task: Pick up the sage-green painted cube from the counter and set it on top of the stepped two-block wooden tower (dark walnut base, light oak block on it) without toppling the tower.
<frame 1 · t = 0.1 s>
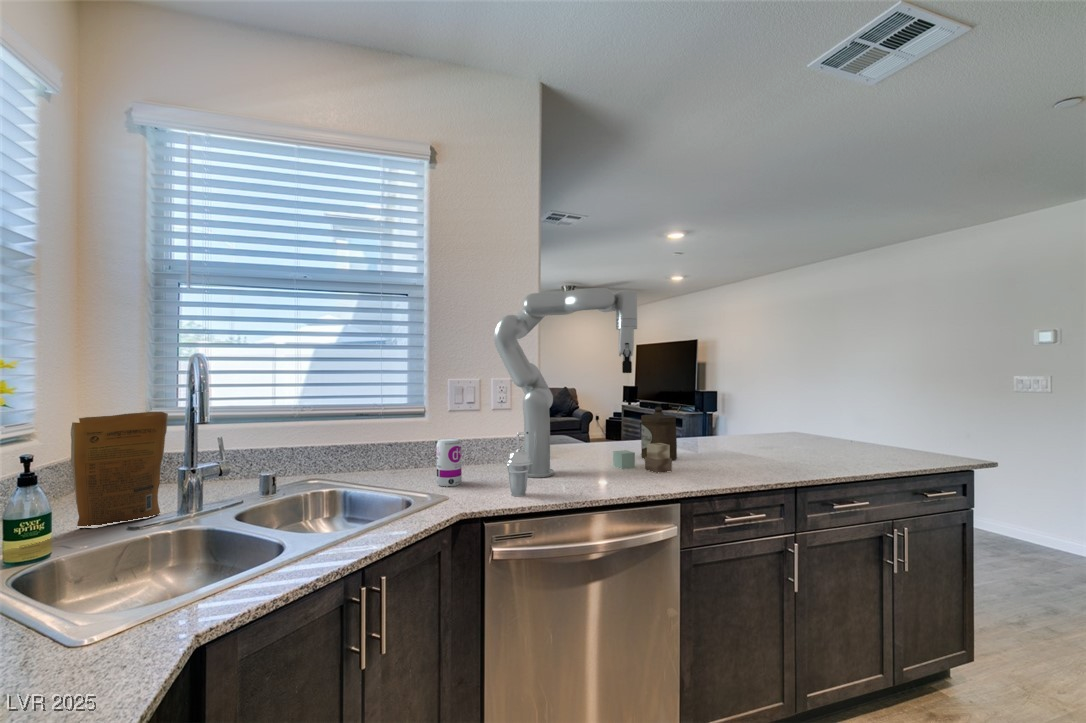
hand: (626, 372, 174), 37 cm above the counter, tool pointing down, fingers open, 9 cm apart
sage cube: (624, 467, 192), on the counter
walnut base block: (658, 470, 185), on the counter, touching oak upper block
supplement can: (449, 484, 165), on the counter
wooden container: (658, 458, 210), on the counter
pancake mix bag: (121, 523, 125), on the counter
cup with straw: (518, 495, 150), on the counter
oak upper block: (658, 457, 185), point 5 cm above the counter, touching walnut base block
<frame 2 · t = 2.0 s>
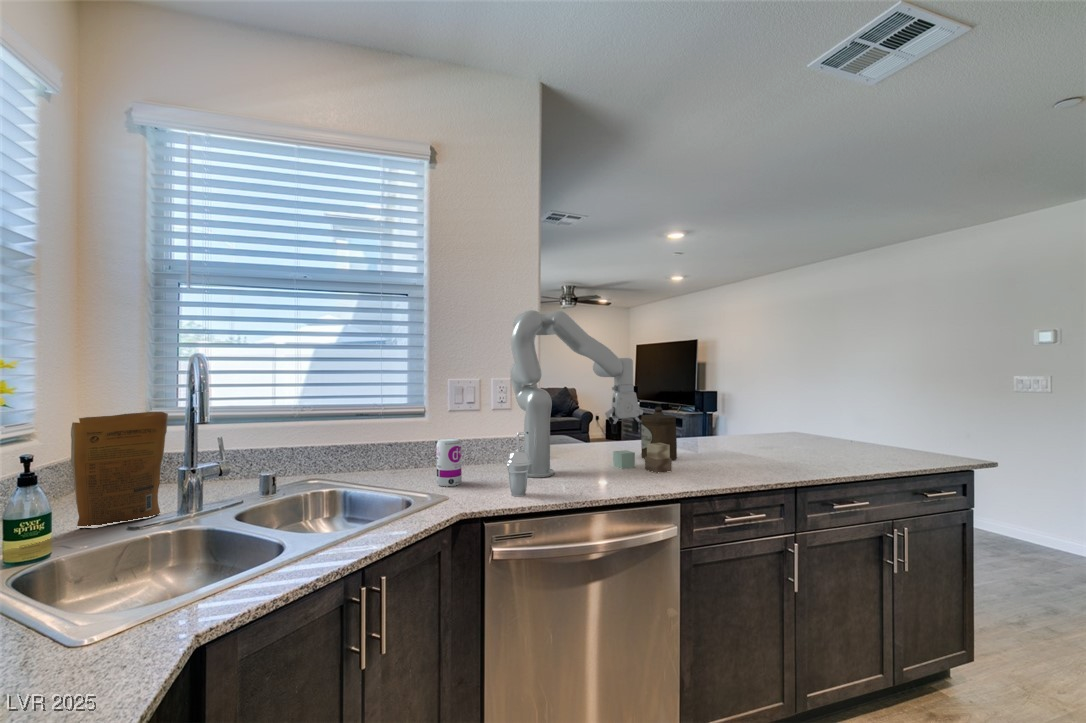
hand: (625, 432, 192), 13 cm above the counter, tool pointing down, fingers open, 9 cm apart
walnut base block: (658, 470, 185), on the counter
oak upper block: (658, 457, 185), point 5 cm above the counter
everything else where it was.
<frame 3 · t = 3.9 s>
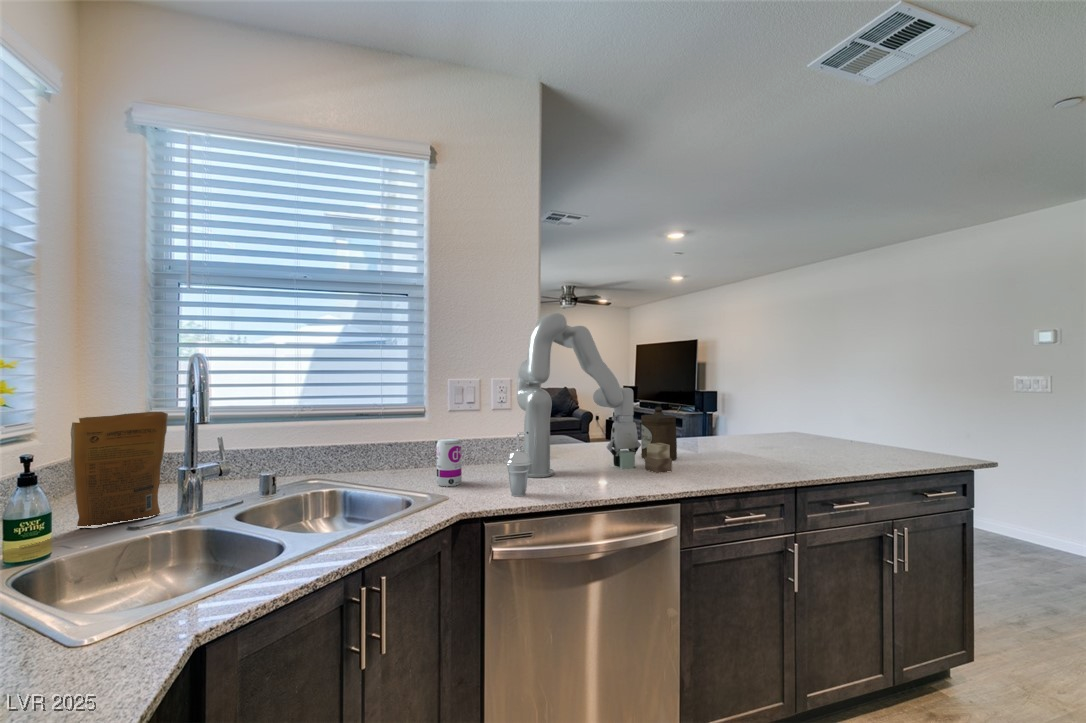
hand: (624, 464, 192), 1 cm above the counter, tool pointing down, fingers closed on sage cube, 6 cm apart
sage cube: (624, 467, 192), on the counter, touching gripper
walnut base block: (658, 470, 185), on the counter, touching oak upper block
oak upper block: (658, 457, 185), point 5 cm above the counter, touching walnut base block
everything else where it was.
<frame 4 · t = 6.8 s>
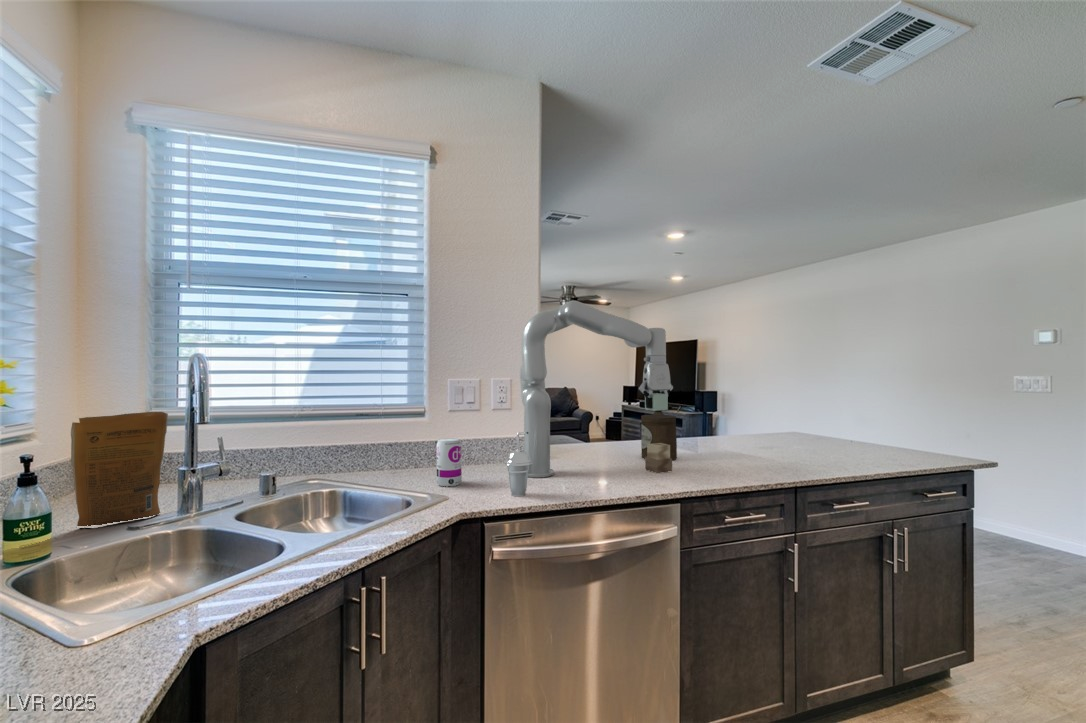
hand: (656, 407, 186), 24 cm above the counter, tool pointing down, fingers closed on sage cube, 6 cm apart
sage cube: (656, 409, 186), point 23 cm above the counter, touching gripper
everything else where it was.
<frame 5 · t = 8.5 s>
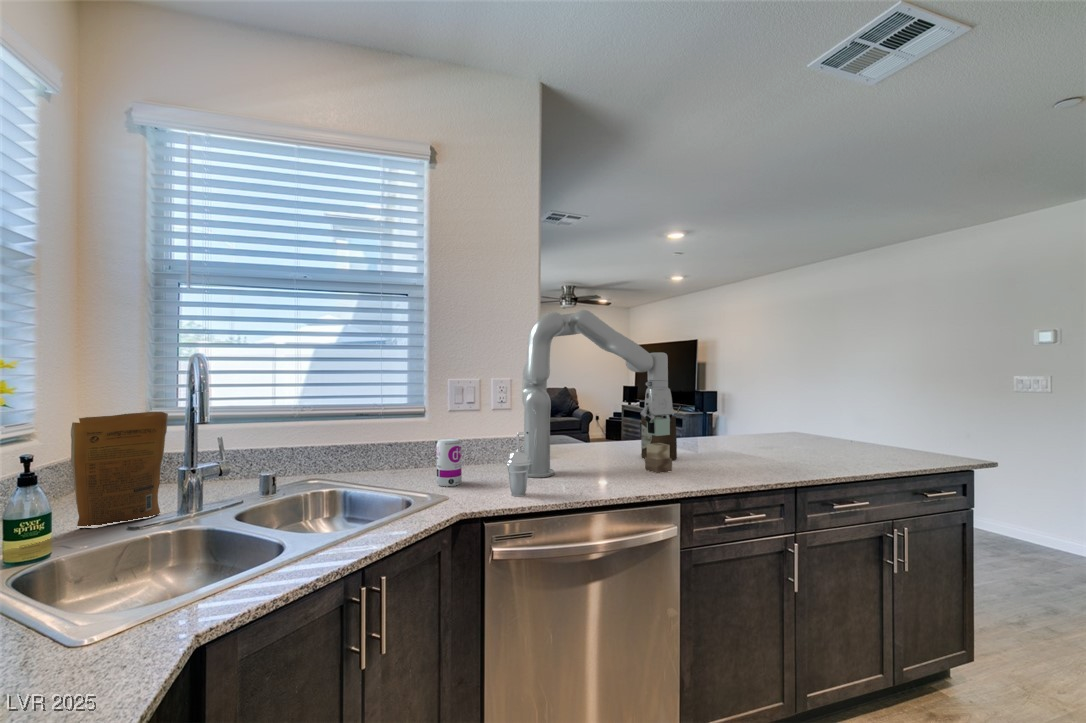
hand: (658, 432, 185), 15 cm above the counter, tool pointing down, fingers closed on sage cube, 6 cm apart
sage cube: (658, 434, 185), point 14 cm above the counter, touching gripper
everything else where it was.
when the fingers open (12 cm above the counter, at t = 9.9 s): sage cube drops 1 cm, resting on oak upper block.
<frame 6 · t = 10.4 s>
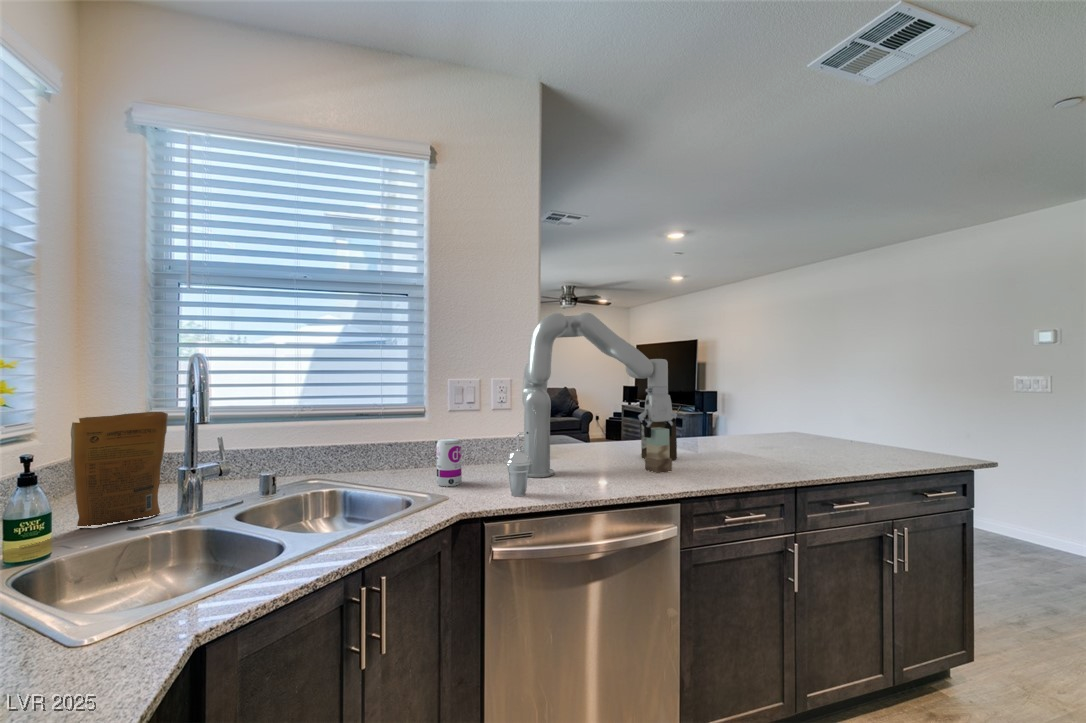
hand: (658, 436, 185), 13 cm above the counter, tool pointing down, fingers open, 9 cm apart
sage cube: (657, 444, 185), point 10 cm above the counter, touching oak upper block
oak upper block: (658, 457, 185), point 5 cm above the counter, touching sage cube, walnut base block
everything else where it was.
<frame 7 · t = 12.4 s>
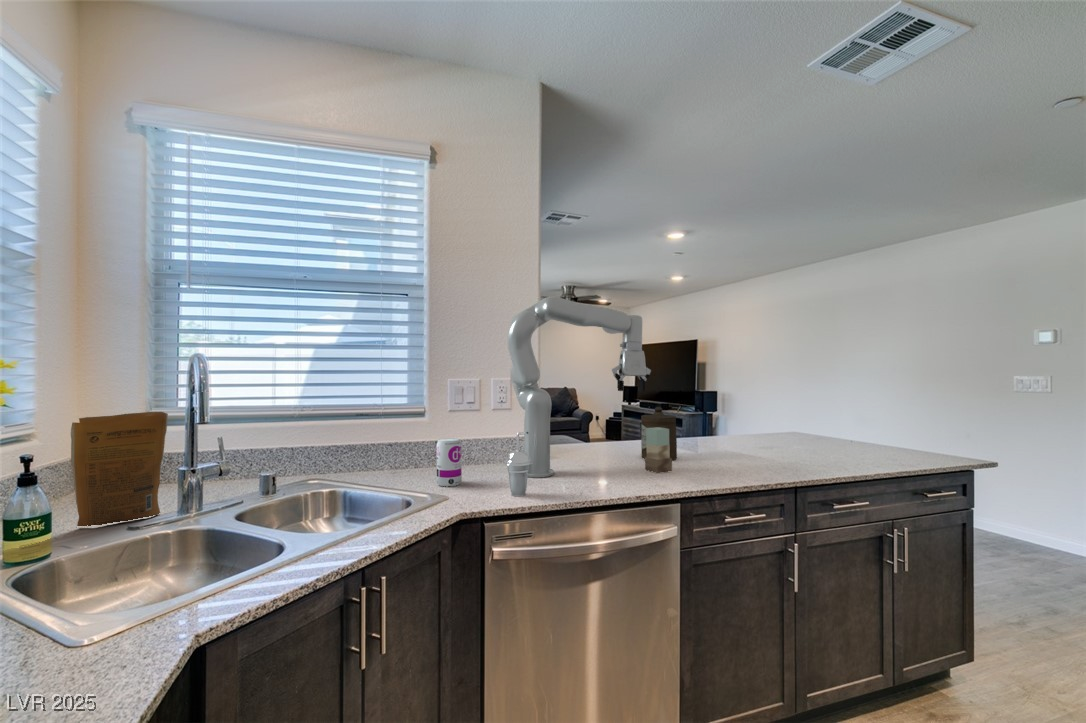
hand: (631, 390, 190), 30 cm above the counter, tool pointing down, fingers open, 9 cm apart
nothing on the counter moved.
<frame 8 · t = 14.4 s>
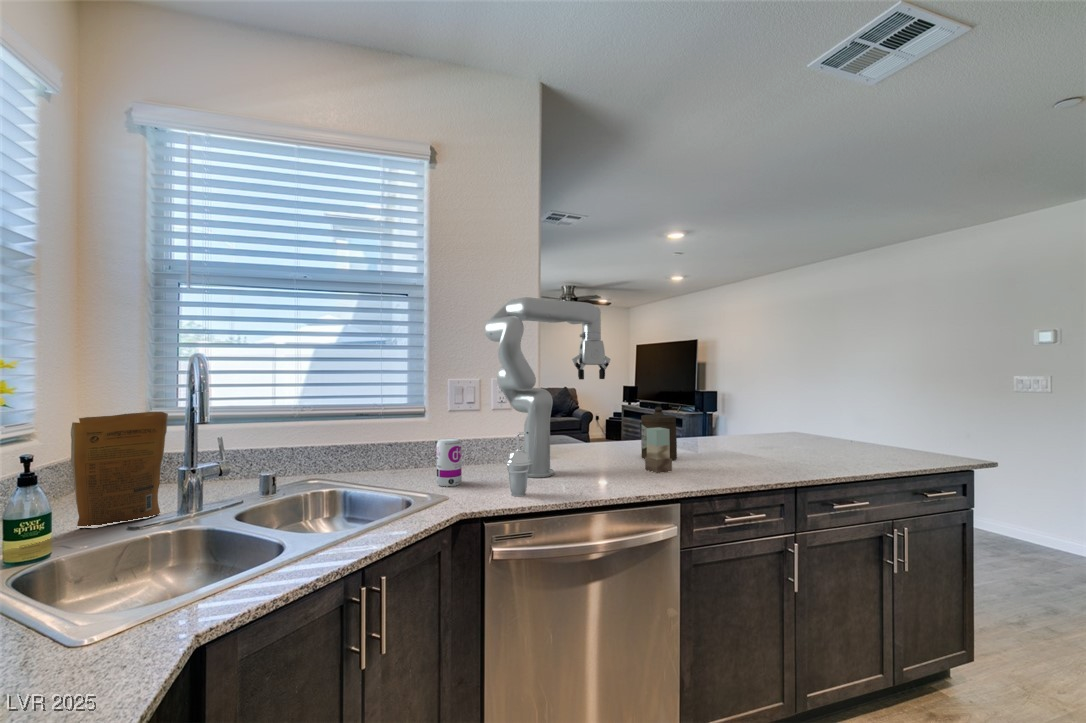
hand: (591, 379, 199), 34 cm above the counter, tool pointing down, fingers open, 9 cm apart
nothing on the counter moved.
at the end: sage cube 0.1 cm off-centre on the oak upper block, point 5.0 cm above the oak upper block's base; oak upper block tilted 0°; sage cube tilted 0° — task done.
